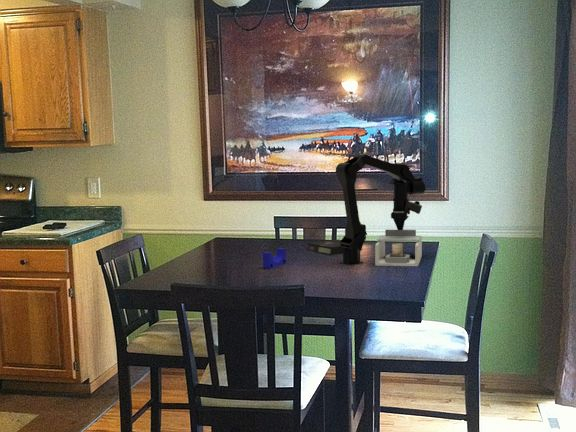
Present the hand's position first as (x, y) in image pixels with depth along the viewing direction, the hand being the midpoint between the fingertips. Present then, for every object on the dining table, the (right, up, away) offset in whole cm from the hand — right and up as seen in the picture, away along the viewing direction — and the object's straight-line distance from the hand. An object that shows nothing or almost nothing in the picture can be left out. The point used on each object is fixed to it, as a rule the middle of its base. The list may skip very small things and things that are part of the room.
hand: (400, 233), depth 286 cm
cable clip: (-52, -12, -10) cm, 54 cm away
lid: (-2, -2, -6) cm, 7 cm away
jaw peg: (-3, -10, -14) cm, 17 cm away
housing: (-2, -10, -7) cm, 13 cm away
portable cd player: (-26, -9, +20) cm, 34 cm away
